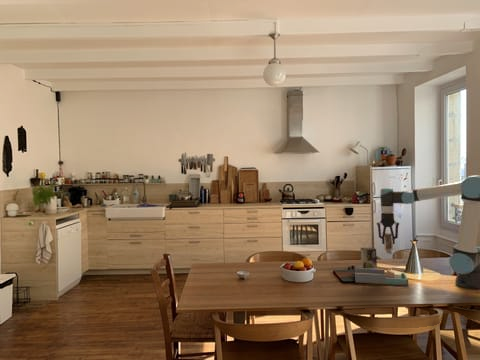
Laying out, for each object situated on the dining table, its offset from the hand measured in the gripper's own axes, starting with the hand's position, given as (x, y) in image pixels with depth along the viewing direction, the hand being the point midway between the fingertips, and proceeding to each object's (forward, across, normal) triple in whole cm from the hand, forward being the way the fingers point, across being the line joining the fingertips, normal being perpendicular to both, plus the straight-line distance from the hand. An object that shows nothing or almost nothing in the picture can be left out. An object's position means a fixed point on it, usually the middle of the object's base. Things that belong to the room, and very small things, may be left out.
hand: (388, 249), depth 230 cm
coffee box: (+18, +12, -12) cm, 25 cm away
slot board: (+18, +12, +7) cm, 23 cm away
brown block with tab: (+2, 0, 0) cm, 2 cm away
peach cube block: (+16, +1, +7) cm, 18 cm away
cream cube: (+15, -2, +8) cm, 17 cm away
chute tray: (+18, -3, +7) cm, 20 cm away
